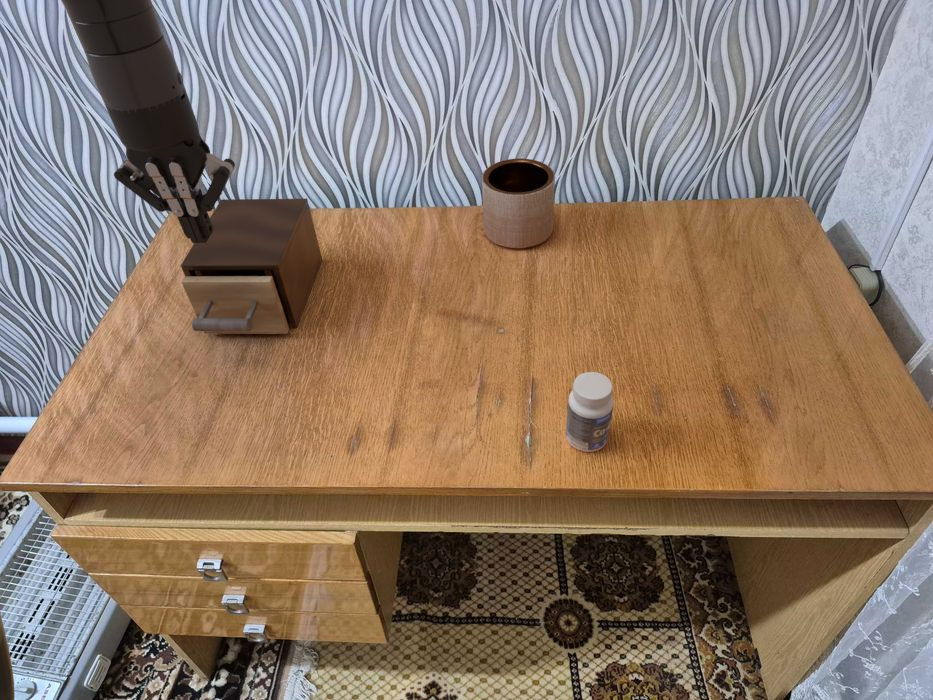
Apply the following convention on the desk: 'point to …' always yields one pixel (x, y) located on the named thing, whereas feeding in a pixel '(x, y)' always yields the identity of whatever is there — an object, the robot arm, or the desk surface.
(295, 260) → the cabinet
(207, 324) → the drawer
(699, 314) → the desk surface
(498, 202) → the planter
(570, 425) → the pill bottle
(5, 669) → the robot arm
